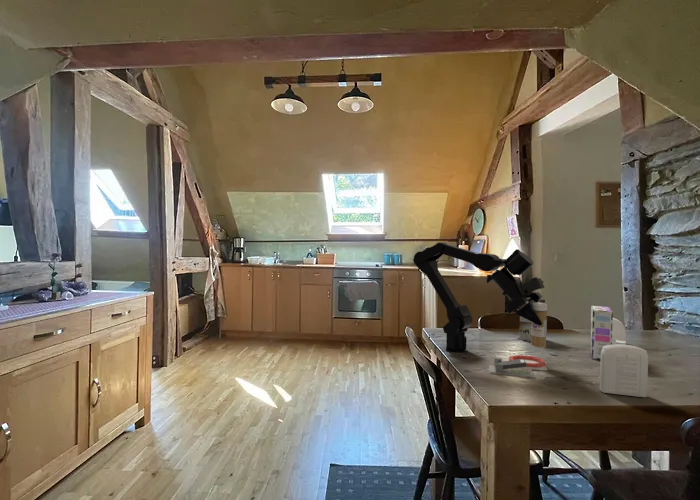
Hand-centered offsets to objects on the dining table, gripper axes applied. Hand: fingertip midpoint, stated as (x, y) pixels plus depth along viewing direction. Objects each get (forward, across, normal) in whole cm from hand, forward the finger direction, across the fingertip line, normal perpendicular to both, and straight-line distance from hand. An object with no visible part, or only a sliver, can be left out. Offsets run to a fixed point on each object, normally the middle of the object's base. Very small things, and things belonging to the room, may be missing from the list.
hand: (543, 323), depth 126 cm
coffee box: (0, +38, +20) cm, 42 cm away
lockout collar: (+7, -2, +12) cm, 14 cm away
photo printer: (+25, -12, -7) cm, 28 cm away
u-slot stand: (+17, +47, +2) cm, 50 cm away
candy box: (+17, +27, +1) cm, 32 cm away
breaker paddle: (+3, -15, +14) cm, 20 cm away
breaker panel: (+6, -13, +13) cm, 19 cm away
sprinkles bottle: (+4, 0, +6) cm, 8 cm away
